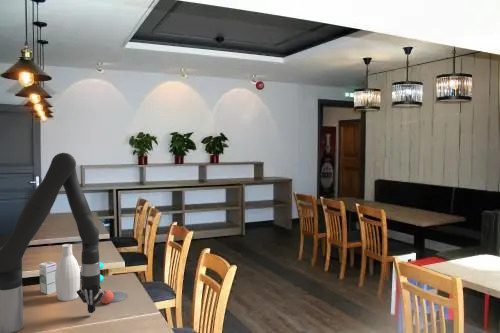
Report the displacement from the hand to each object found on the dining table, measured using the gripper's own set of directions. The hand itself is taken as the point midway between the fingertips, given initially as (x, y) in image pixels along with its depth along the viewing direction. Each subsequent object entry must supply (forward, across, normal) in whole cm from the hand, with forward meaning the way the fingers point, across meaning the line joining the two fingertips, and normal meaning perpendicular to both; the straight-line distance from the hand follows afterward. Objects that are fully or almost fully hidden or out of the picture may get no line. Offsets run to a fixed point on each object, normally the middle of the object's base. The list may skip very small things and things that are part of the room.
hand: (91, 312), depth 182 cm
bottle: (+2, +23, -15) cm, 27 cm away
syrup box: (+2, +37, -20) cm, 42 cm away
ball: (-2, +1, -14) cm, 14 cm away
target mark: (+2, +2, -21) cm, 21 cm away
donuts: (+2, +24, -38) cm, 45 cm away
